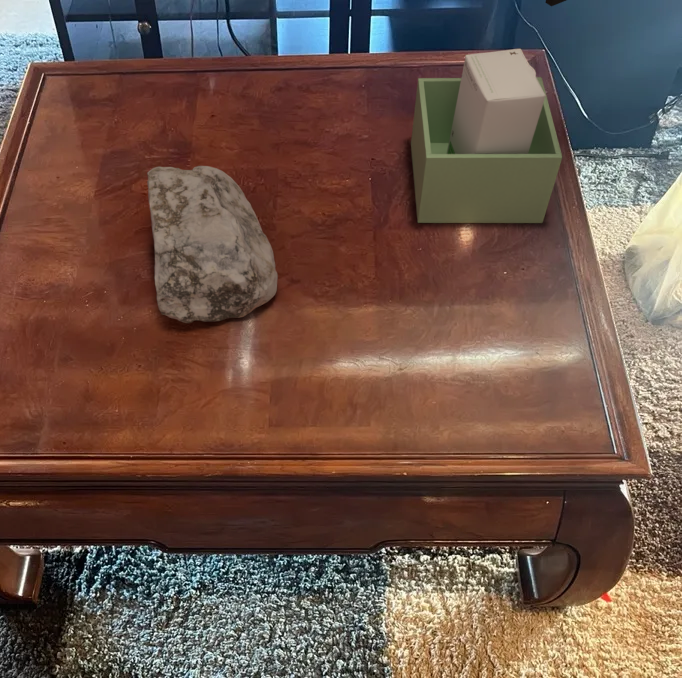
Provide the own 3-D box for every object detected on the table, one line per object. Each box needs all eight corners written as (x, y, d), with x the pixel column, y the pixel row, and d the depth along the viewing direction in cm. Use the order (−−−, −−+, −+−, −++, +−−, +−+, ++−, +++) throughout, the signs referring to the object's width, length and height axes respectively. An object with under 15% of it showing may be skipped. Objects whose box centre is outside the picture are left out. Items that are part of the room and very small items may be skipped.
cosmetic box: (443, 166, 98) (461, 52, 86) (496, 159, 99) (522, 45, 86) (462, 213, 93) (484, 99, 81) (518, 206, 93) (548, 91, 81)
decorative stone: (136, 200, 95) (141, 139, 87) (247, 199, 99) (262, 140, 90) (154, 342, 86) (161, 289, 78) (275, 335, 89) (295, 284, 81)
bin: (542, 223, 92) (562, 157, 85) (417, 223, 93) (426, 157, 86) (525, 143, 101) (541, 77, 94) (410, 143, 102) (418, 78, 94)
